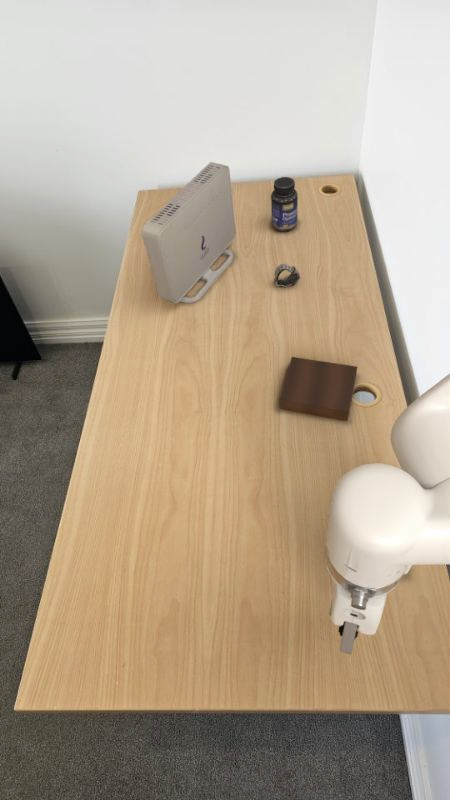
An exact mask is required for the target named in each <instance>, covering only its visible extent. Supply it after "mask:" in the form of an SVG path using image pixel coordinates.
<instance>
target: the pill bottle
mask: <svg viewBox="0 0 450 800" xmlns="http://www.w3.org/2000/svg"><path fill="white" fill-rule="evenodd" d="M295 187H296V182H295V180H294V179H293V178H292V177H289V176H281V177H278V178H276V179H275V180H274V182H273V191H272V192H271V195H270V203H271V204H270V207H271V226H272V228H273V229H274V230H275V231H278V232H280V233H286V232H290V231H293V230H294V229H295V228H296V227H297V225H298V200H299V199H298V197H299V194H298V191H297V189H295Z"/></svg>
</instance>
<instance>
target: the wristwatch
mask: <svg viewBox="0 0 450 800" xmlns="http://www.w3.org/2000/svg"><path fill="white" fill-rule="evenodd" d="M284 271H288V272H289V273H290V274H289V275H288V277H285V278H284V279H279V278H280V275H281V274H282V273H283V272H284ZM300 279H301V276H300V271H299V270H298V269H297V267H296V266H295V265H292V266H291V265H289V264H286V263H281V264H279V265H278V266H277V267H276V268H275V270H274V278H273V282H274V284H275V285H276V286H277V287H284V288H287V287H292V286H295V285H296V284H297V283H298V282H299V281H300Z"/></svg>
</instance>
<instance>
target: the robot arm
mask: <svg viewBox="0 0 450 800" xmlns="http://www.w3.org/2000/svg"><path fill="white" fill-rule="evenodd" d="M390 443H391V444H390V445H391V447H392V451H393V453H394V455H395V458H396V460H397V462H398V464H399V466H400V467H397V466H395V465H391V464H388V463H384V462H383V463H382V462H371V463H364V464H361V465H358V466H356V467H354V468H352V469H350V470H349V471H347V472H346V473H344V475H342V477H341V478H339V480H338V481H337V483H336V484H335V485H334V488H333V491H332V494H331V498H330V503H329V513H328V521H327V522H328V523H327V531H326V532H327V533H326V539H325V548H324V563H325V566H326V569H327V572H328V574H329V576H330V577H331V579H332V580H333V581H332V582H333V583H332V584H333V585H332V596H331V601H332V609H331V616H330V618H331V622H332V623H333V625H334V626H338V633H339V636H340V637H341V638H340V645H339V646H340V647H339V652H341V653H345V654H347V655H348V654H349V655H352V653H353V649H354V642H355V640H356V638H358V635H359V632H360V634H362V635H368V636H374V635H375V634H376V633H377V631H378V628H379V625H380V622H381V619H382V616H383V613H384V609H385V606H386V601H387V598H388V594H389V593H391V592H392V591H393V590H395V589H396V587H397V586H398V585H399V584H400V582H401V581H402V578H403V577H404V575H405V574H404V573H405V571H406V569H407V568H408V566H409V565H412V566H425V565H426V566H427V565H430V566H431V565H450V373H448V374H447V375H446V376H444V377H443V378H441V380H439V381H438V382H437V383H436V384H434V385H432V386H431V387H430V388H428V389H427V390H426V391H425V392H423V393H422V394H420V396H418V397H417V398H416V399H415V400H414V401H412V402H411V403H410V404H409V405H407V407H406V408H405V409H403V410H402V411H401V413H400V414H399V415H398V417H397V418H396V420H395V421H394V423H393V424H392V427H391V433H390Z"/></svg>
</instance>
